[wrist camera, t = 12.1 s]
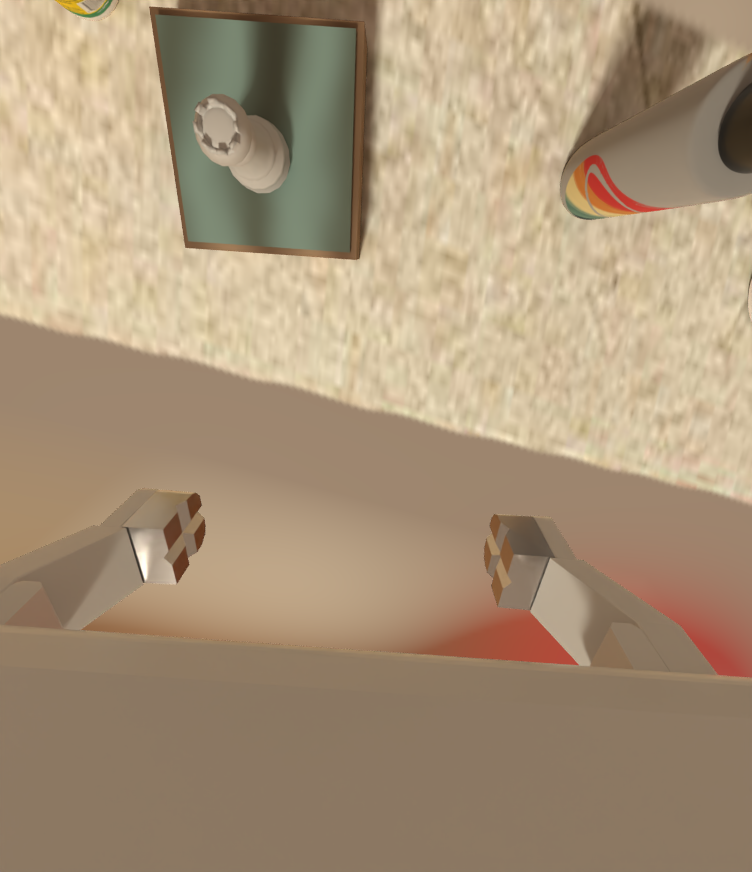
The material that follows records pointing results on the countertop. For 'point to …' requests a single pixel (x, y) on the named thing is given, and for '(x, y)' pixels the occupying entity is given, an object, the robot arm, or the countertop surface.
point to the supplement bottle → (90, 8)
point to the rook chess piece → (242, 143)
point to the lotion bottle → (669, 152)
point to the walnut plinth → (280, 105)
